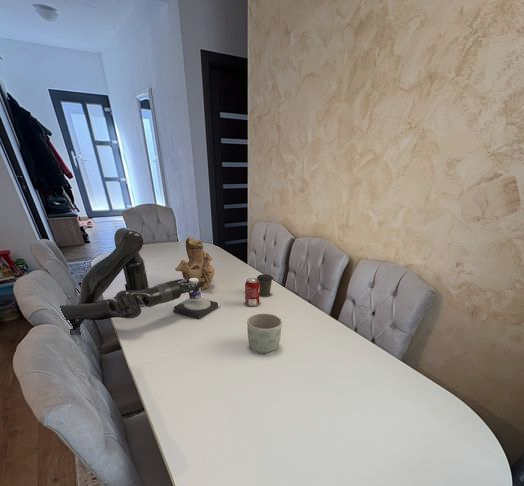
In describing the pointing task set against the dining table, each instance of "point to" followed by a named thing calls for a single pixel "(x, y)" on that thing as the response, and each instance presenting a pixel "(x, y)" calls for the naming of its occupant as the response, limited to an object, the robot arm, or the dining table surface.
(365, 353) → the dining table surface
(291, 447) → the dining table surface
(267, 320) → the planter
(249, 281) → the soda can
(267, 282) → the coffee cup
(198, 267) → the ceramic vessel
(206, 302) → the scale
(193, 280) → the pill bottle
